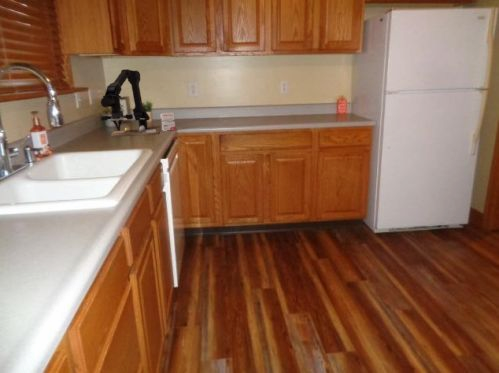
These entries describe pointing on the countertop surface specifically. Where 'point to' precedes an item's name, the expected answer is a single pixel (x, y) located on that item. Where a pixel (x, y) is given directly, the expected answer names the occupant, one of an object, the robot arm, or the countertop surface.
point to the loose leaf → (124, 130)
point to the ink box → (167, 121)
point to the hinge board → (136, 132)
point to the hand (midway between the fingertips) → (118, 130)
